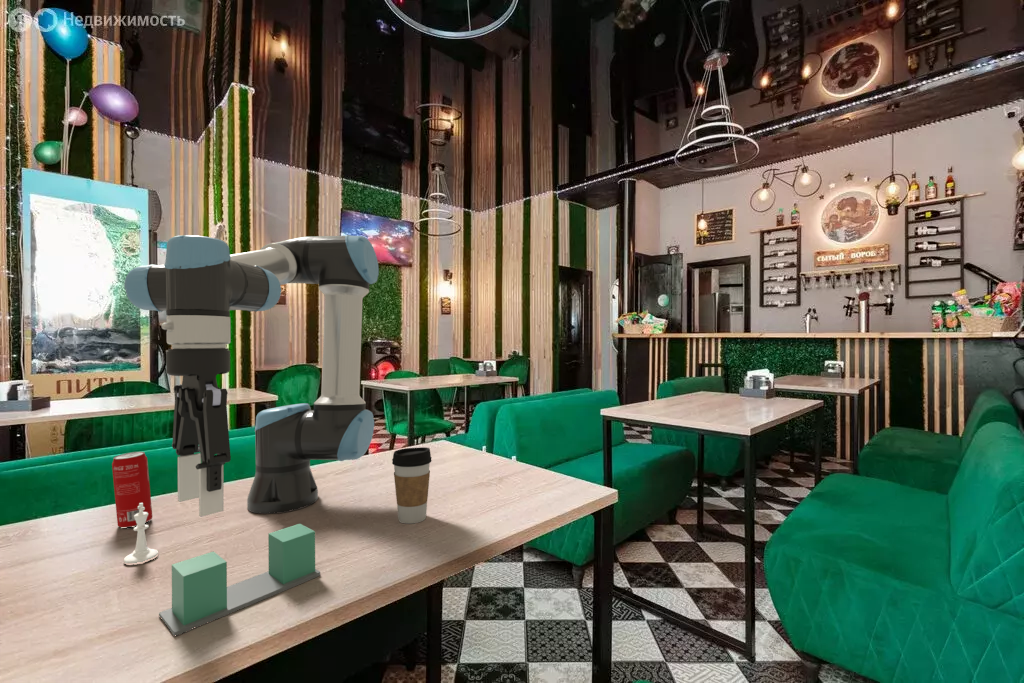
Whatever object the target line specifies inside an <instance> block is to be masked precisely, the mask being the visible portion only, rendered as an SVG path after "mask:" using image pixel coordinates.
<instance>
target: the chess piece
mask: <svg viewBox="0 0 1024 683" xmlns="http://www.w3.org/2000/svg"><path fill="white" fill-rule="evenodd" d="M138 509H139V513H137V514H135V515H134V519H135V520H136V523H137V525H138V526H136V527H133V531H134V532H137V534H136V542H135V549H134V550H133V551H132V552H131V553H130V554H128V555H126V556H125V557H124V558H123V562H125V563H137V562H143V561H145V560H148V559H151V558H153V557H155V556H156V555H157V554H159V551H158V549H156V548H154V549H153V548H150V547H148V543H147V536H146V531H145V530H147V529H148V528H149V524H145V522H146V519H147V516H148V513H147V512H143V510H145V507H143V503H139V506H138Z"/></svg>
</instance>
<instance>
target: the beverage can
mask: <svg viewBox="0 0 1024 683" xmlns="http://www.w3.org/2000/svg"><path fill="white" fill-rule="evenodd" d="M111 466H112V467H111V470H112V478H113V489H114V490H113V491H114V500H115V501H114V502H115V511H116V521H117V522H116V523H117V527H118V526H119V527H132V526H137V523H136V520H135V519H134V515H135V514H137V513H139V509H138V506H139V503H143V507H145V510H143V512H147V513H148V516H147V519H146V522H148V521H149V522H150V521H151V520H152V518H153V507H152V498H151V497H152V496H151V485H150V484H151V483H150V476H149V462H148V457H147V456H146V454H145V452H144V451H132V452H126V453H122V454H118V455H116V456H114V457H113V460H112V463H111ZM146 522H145V523H146ZM149 522H148V523H149ZM146 524H147V523H146ZM119 527H118V528H119Z"/></svg>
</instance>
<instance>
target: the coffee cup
mask: <svg viewBox="0 0 1024 683" xmlns="http://www.w3.org/2000/svg"><path fill="white" fill-rule="evenodd" d="M430 449H431V448H430V447H426V446H425V447H421V446H420V447H409V448H408V447H407V448H406V447H405V448H400V449H396V450H395V451H394V452H393V456H392V459H391V461H392V465H393V467H394V472H393V476H394V477H393V478H394V479H393V480H394V487H395V499H396V506H397V507H396V508H397V519H398V521H399V522H400V523H402V524H409V525H410V524H411V525H412V524H417V523H421V522H423V521H425V519H427V509H428V508H427V507H428V497H429V487H430V478H431V476H430V474H431V471H430V464H431V463H432V462H433V460H432V455H431V450H430Z"/></svg>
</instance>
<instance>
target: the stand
mask: <svg viewBox="0 0 1024 683" xmlns="http://www.w3.org/2000/svg"><path fill="white" fill-rule="evenodd" d="M320 576H321V571H320V570H318V569H316V531H315V530H313V529H311V528H309V527H307V526H305V525H304V524H302V523H297V524H295V525H291V526H288V527H285V528H282V529H279V530H276V531H272V532H269V533H268V571H265V572H263V573H260V574H257V575H255V576H252V577H249V578H247V579H243V580H242V581H238V582H236V583H234V584H230V585H227V608H226V609H223V610H221V611H218V612H216V613H213V614H211V615H208V616H206V617H204V618H201V619H199V620H196V621H194V622H191V623H189V624H186V625H183V624H182V623H181V622H180V620H179V619H178V618H177V617H176V616H175V614H174V613H173V612H172V607H170V608H167V609H165V610H162V611H160V612H158V617H159V616H160V617H161V618H162V620H163V621H164V622H165V624H166V625H167V626H168V628H169V629H170V630H169V629H168V628H167V629H168V630H169V632H170V631H171V632H172V633H171V632H170V633H171V634H172V636H173V635H174V636H175V635H178V634H181V635H183V634H184V633H183V632H185V633H187V632H186V631H188V632H190V631H191V630H190V629H192V628H194V627H197V626H200V625H202V624H204V625H206V624H205V623H207V622H209V623H211V622H214V621H216V620H218V618H219V619H221V618H224V617H226V616H228V615H230V614H232V612H233V613H236V612H237V610H238V611H240V610H242V609H244V607H245V608H246V607H249V606H251V605H254V604H257V603H259V602H260V601H263V600H265V599H268V598H270V597H273V596H275V595H278V594H281V593H283V592H286V591H288V590H290V589H292V588H294V587H297V586H298V585H301V584H304V583H306V582H308V581H311V580H313V579H316V578H317V577H320ZM239 609H240V610H239ZM229 613H230V614H229ZM227 614H228V615H227ZM160 617H159V618H160ZM215 619H216V620H215ZM162 620H161V621H162ZM213 620H214V621H213ZM163 621H162V622H163ZM210 621H211V622H210ZM165 624H164V625H165ZM207 624H208V623H207ZM166 625H165V626H166ZM202 626H203V625H202ZM200 627H201V626H200ZM197 628H198V627H197ZM189 630H190V631H189ZM192 630H193V629H192ZM182 633H183V634H182ZM174 636H173V637H174ZM178 636H179V635H178Z"/></svg>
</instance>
